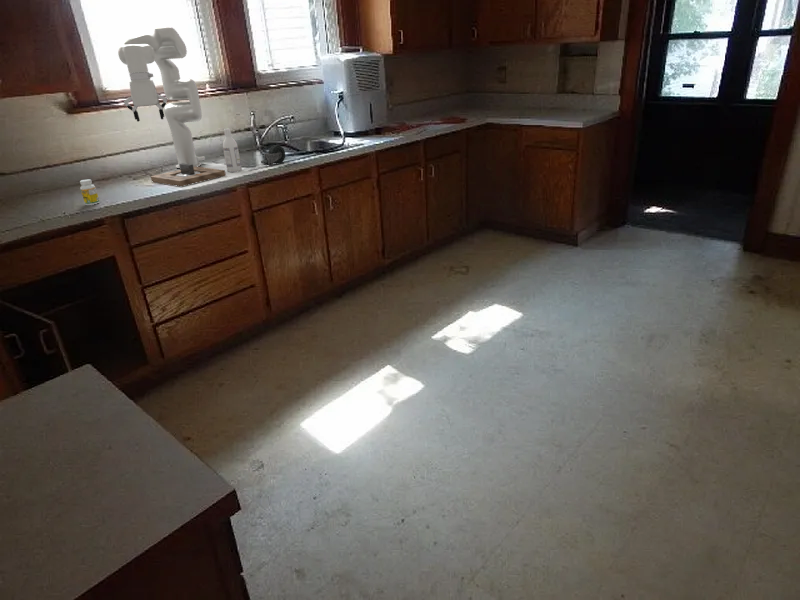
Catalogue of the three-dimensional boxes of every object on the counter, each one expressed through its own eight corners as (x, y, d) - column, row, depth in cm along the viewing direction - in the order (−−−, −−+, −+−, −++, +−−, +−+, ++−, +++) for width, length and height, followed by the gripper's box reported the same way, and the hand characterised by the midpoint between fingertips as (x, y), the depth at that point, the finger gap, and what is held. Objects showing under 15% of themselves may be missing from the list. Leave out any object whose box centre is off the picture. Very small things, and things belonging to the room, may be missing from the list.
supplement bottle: (102, 203, 216) (95, 179, 212) (89, 206, 212) (81, 182, 208) (95, 201, 219) (88, 178, 215) (82, 204, 215) (75, 181, 211)
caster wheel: (280, 163, 278) (258, 166, 267) (279, 144, 275) (256, 146, 264) (288, 164, 275) (265, 167, 264) (286, 144, 272) (264, 146, 260)
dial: (192, 174, 258) (189, 161, 255) (205, 176, 252) (203, 162, 249) (172, 179, 250) (168, 165, 247) (185, 181, 244) (182, 167, 241)
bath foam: (240, 168, 266) (233, 127, 257) (243, 171, 260) (235, 128, 252) (226, 170, 263) (218, 128, 255) (228, 173, 258) (220, 130, 249)
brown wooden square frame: (196, 171, 266) (195, 166, 265) (225, 175, 253) (224, 169, 251) (152, 181, 249) (150, 175, 248) (180, 186, 236) (179, 180, 234)
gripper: (162, 75, 228) (172, 117, 235) (119, 78, 223) (130, 121, 231) (161, 76, 221) (171, 119, 229) (116, 79, 217) (127, 122, 224)
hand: (150, 120), depth 230 cm, fingers open, 9 cm apart
